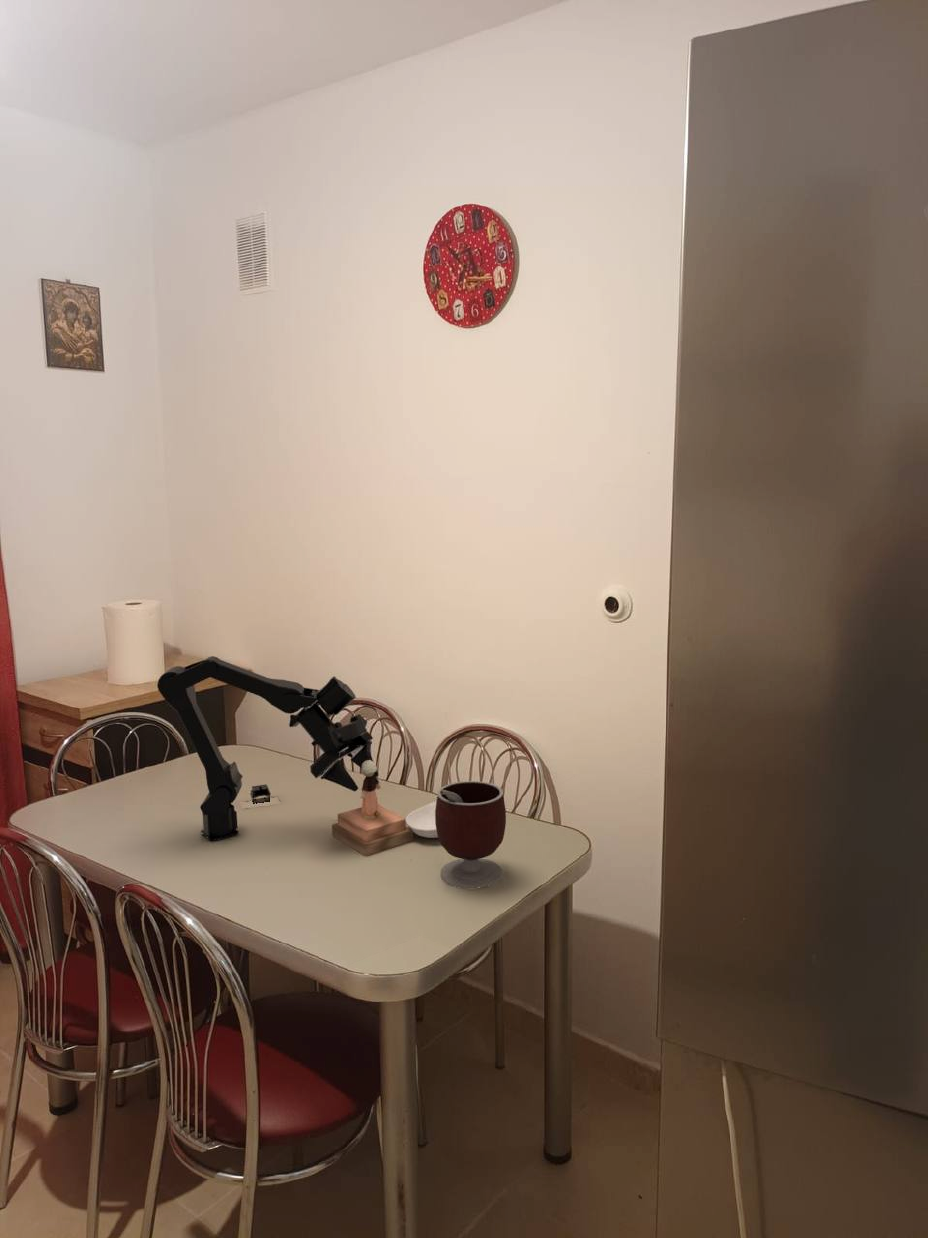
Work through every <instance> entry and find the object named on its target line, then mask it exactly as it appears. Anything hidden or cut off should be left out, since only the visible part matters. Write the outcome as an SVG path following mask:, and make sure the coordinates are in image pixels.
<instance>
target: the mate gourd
mask: <svg viewBox="0 0 928 1238" xmlns="http://www.w3.org/2000/svg"><path fill="white" fill-rule="evenodd" d="M504 797H505V796H504V792H503V789H502V788H501V787H500V786H498V785H497V784H494V783H491V782H487V781H478V780H466V781H465V780H464V781H457V782H453V783H448V784H446V785H443V786H442V787H440V788H439V789H438V791H437V797H436V800H435V801H436V809H435V824H436V830H437V835H438V838H437V839H438V841H439V844H440V845H441V846H442V848H443V849H444V850H445V851H446V852H447V853H448V854H449V855H451V856H452V857H454V858H456V859H455V860H452V861H449V862H447V863H446V864H444V865H443V866H442V867H441V869H440V878H441V880H442V881H443V882H444V883H445V884H447V885H449V886H451V885H452V886H451V887H454V886H456V887H455V888H457V887H460V888H459V889H464V888H478V887H484V886H488V885H491V886H493V885H495V884H497V883H499V882H500V880H501V879H502V878H501V877H503V869H502V867H501V866H500V865H499V864H498V863H496V862H495V861H492V860H489V859H486V858H487V857H490V856H491V855H493V854H494V853H495V852H496V851H497V849H498V848H499V847H500V845H501V844H502V842H503V841H504V836H505V831H506V825H507V824H506V823H507V814H506V813H507V812H506V811H507V809H506V804H505V803H506V802H505V799H504ZM496 882H497V883H496ZM494 883H495V884H494ZM492 884H493V885H492ZM488 887H489V886H488ZM484 888H485V887H484ZM478 889H479V888H478Z"/></svg>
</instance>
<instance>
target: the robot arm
mask: <svg viewBox="0 0 928 1238" xmlns="http://www.w3.org/2000/svg"><path fill="white" fill-rule="evenodd" d="M209 678H210V679H214V680H215V681H219V682H222V683H223V684H227V685H230V686H232V687H235V688H237V689H240V690H241V691H242V690H243V691H245V692H248V693H251V694H253V695H255V696H258V697H260V698H262V699H263V700H265V701H267V702H268V703H269V704H270V705H271V706H272V707H274V708H276V709H277V710H279V711H281V712H283V713H285V714H290V715H289V717H290V718H289V724H288V726H289V728H293V727H294V728H296V727H297V726H299V725H300V726H301V727H302V728H303V729H304V731H305V732H306V733H307V734H308V736H310V738H311V739H312V740H313V741H312V742H311V743H310V744H311V745H312V746H313V748H314V747H316V746H318V748H320V750H321V751H322V752H323V753H322V754H320V756H319V757H318V758H317V759H316V760H315V761H314V762H313V763H311V765H310V766H309V767H310V773H311V775H313V777H314V778H315V779H319V778H320V779H321V780H326V781H329V782H331V783H334V784H337V785H339V786H342V787H343V788H346V789H348V790H350V791H353V792H356V791H358V790H359V786H358V785H357V783H356V782H355V780H354V779H353V777H351V775H350V774H349V772H348V771H347V769H346V768H345V763H344V762H345V761H344V757H349V758H351V759H350V762H352V763H354V764H355V765H356V766H357V767H359V768H360V769H362V763H363V762H364V761H367V760H371V761H373V762H374V759H373V757H372V754H371V747H372V745H373V742H372V740H373V739H374V737H373V736H372V734H370V732H369V731H368V730H367V728H366V727H367V724H368V721H367V720H366V719H365V718H364V716H362V714H360V713H359V714H356V715H354V716H352V717H351V718H350V722H349V723H347V724H344V725H343V724H342V723H341V722H338V721H337V722H334V721H332V719H331V718H330V717H329V716H330V715H331V716H333V715H336V716H338V715H339V714H340V713H341V712H342V711H343V710H344V709H345V708H346V707H347V706H349V705H350V704H351V703H352V702H354V700H355V699H356V698H357V697H356V695H355V693H354V691H353V690H352V689H351V688H350V686H349V684H347V683H344V682H343V681H341V680H340V679H338V678H337V677H336V676H332V677H331V678H330V679H329V681H328V682H326V684H325V685H323V686H322V688H320V689H315V688H310V687H309V688H308V687H304V686H303V685H302V684H301V683H299V682H297V681H291V680H286V679H280V678H278V679H277V678H275V679H274V678H270V677H266V676H264V675H262V674H258V673H256V672H254V671H251V670H249V669H245V668H242V667H241V666H237V665H235V664H232V663H230V662H227V661H225V660H222V659H221V658H219V657H217V656H213V655H212V656H208V657H207V658H204V659H203V660H199V661H197V662H194V663H192V664H189V665H186V666H179V665H176V666H173V667H171V668H169V669H168V670H166V671H165V672H164V673H163V674H162V675H160V677H159V679H158V681H157V683H156V684H157V689H158V690H157V691H158V692H159V693H160V695H161V696H162V698H163V699H164V700H165V702H166V703H167V704H168V705H169V706H170V707H171V708H172V709H173V710H174V711H176V713H177V714H178V716H179V718H180V720H181V722H182V724H183V726H184V729H185V731H186V732H187V734H188V738H189V739H190V741H191V743H192V745H193V747H194V749H195V751H196V754H197V755H198V758H199V759H200V760H199V761H201V763H202V766H203V767H204V770H205V779H206V786H207V789H208V793H207V794H206V796H205V798H204V800H203V801H202V803H201V804H200V806H199V808H200V810H201V812H202V813H201V814H202V824H203V826H202V828H203V829H202V830H200V833H201V832H202V833H203V834H204V835H205V836H206V837H208V838H209V839H210V840H211V841H210V840H209V839H208V838H207V839H208V840H209V841H210V842H215V841H218V839H219V840H222V839H221V838H223V839H226V838H230V837H233V836H232V835H234V836H237V835H239V834H240V832H239V830H238V825H239V824H238V812H237V811H236V810H235V805H233V802H235V800H236V799H237V797H238V795H239V793H240V791H241V789H242V786H243V784H242V783H243V782H242V779H243V778H244V777H243V775H242V774H241V773H240V771H239V769H238V765H237V763H236V761H233V762H232V763H229V762H227V761H226V760H225V759H224V757H223V755H222V753H221V751H220V749H219V746H218V744H217V743H216V740H215V738H214V736H213V734H212V732H211V730H210V728H209V726H208V724H207V721H206V719H205V717H204V715H203V714H202V711H201V709H200V707H199V705H198V703H197V695H196V688H195V687H196V686H195V685H196V684H197V685H198V684H199V683H200V682H203V681H205V680H207V679H209ZM298 711H299V712H298ZM295 713H296V714H295ZM379 774H380V773H379V772H378V769H377V770H376V772H374V774H373V775H375V776H376V778H377V777H378V776H379ZM202 833H201V834H202ZM238 833H239V834H238ZM203 834H202V835H203ZM236 834H237V835H236ZM204 835H203V836H204ZM205 836H204V837H205ZM229 836H230V837H229ZM206 837H205V838H206ZM225 837H226V838H225ZM214 840H215V841H214Z"/></svg>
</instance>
